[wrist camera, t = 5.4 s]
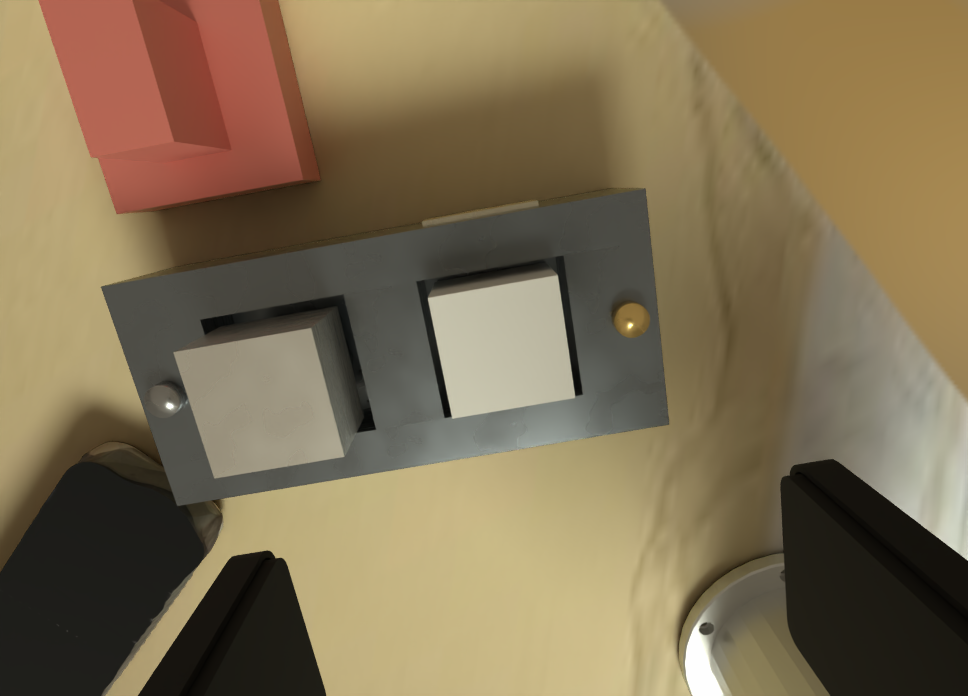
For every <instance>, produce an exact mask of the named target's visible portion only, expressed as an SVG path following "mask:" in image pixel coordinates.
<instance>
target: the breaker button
mask: <svg viewBox="0 0 968 696" xmlns="http://www.w3.org/2000/svg"><path fill="white" fill-rule="evenodd" d="M428 302H429V307H430V311H431V316H432V321H433V326H434V331H435V336H436V341H437V346H438V351H439V356H440V361H441V366H442V370H443V375H444V380H445V385H446V390H447V395H448V400H449V405H450V410H451V415H452V419H454V418H460V417H466V416H472V415H478V414H484V413H489V412H495V411H501V410H507V409H513V408H519V407H525V406H531V405H537V404H543V403H549V402H555V401H561V400H567V399H573V398H575V392H574V385H573V378H572V371H571V364H570V357H569V350H568V343H567V336H566V329H565V322H564V315H563V308H562V301H561V294H560V287H559V280H558V275H557V274H556V273H555V272H554V270H553V269H552V268H551V267H550V266H549V265H548V264H547V263H546V262H544V263H538V264H533V265H527V266H521V267H516V268H510V269H505V270H499V271H493V272H488V273H482V274H476V275H471V276H465V277H459V278H454V279H448V280H442V281H437V282H435V283H434V285H433V287H432V290H431V292H430V294H429V296H428Z"/></svg>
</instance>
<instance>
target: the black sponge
mask: <svg viewBox="0 0 968 696" xmlns="http://www.w3.org/2000/svg"><path fill="white" fill-rule="evenodd" d="M222 527H223V515H222V513H221V511H220V509H219V508H218V507H217V505H216V504H215V503H214V502H212V501H205V502H199V503H193V504H187V505H181V506H177V504H176V501H175V498H174V495H173V492H172V489H171V486H170V484H169V481H168V478H167V475H166V472H165V469H164V467H163V466H161V465H160V464H158V463H157V462H155V461H154V460H152V459H151V458H150V457H148V456H147V455H145V454H144V453H142V452H141V451H139V450H138V449H136V448H135V447H133V446H130V445H128V444H125V443H120V442H107V443H104V444H101V445H99V446H98V447H96V448H94V449H93V450H91V451H89V452H88V453H86V454H85V455H84V456H83V457H82V458H81V460H80V461H79V463H78V464H76V465H74V466H72V467H70V468H69V469H68V470H67V471H66V473H65V474H64V475H63V477H62V478H61V480H60V481H59V483H58V484H57V486H56V487H55V489H54V490H53V492H52V493H51V495H50V496H49V498H48V499H47V501H46V502H45V503H44V505H43V506H42V508H41V509H40V512H39V513H38V515H37V516H36V518H35V519H34V521H33V522H32V524H31V525H30V527H29V528H28V530H27V531H26V533H25V535H24V536H23V538H22V539H21V541H20V543H19V544H18V546H17V547H16V549H15V550H14V552H13V553H12V555H11V557H10V558H9V560H8V561H7V563H6V565H5V566H4V568H3V569H2V571H1V572H0V696H105V695H106V694H107V693H108V691H109V690H110V688H111V687H112V685H113V683H114V682H115V681H116V680H117V679H118V678H119V676H120V675H121V674H122V672H123V670H124V669H125V668H126V667H127V666H128V664H129V662H130V661H131V660H132V659H133V658H134V655H135V654H136V653H137V652H138V651H139V649H140V647H141V646H142V645H143V644H144V643H145V641H146V639H147V638H148V637H149V635H150V634H151V631H152V630H153V629H154V628H155V627H156V625H157V623H158V622H159V621H160V620H161V618H162V616H163V615H164V614H165V613H166V612H167V611H168V609H169V607H170V606H171V605H172V603H173V602H174V600H175V598H176V597H177V596H178V595H179V594H180V592H181V590H182V589H183V588H184V587H185V585H186V584H187V581H188V580H190V578H191V577H192V576H193V572H194V571H195V569H196V568H197V567H198V565H199V564H200V563H201V562H202V560H203V559H204V558H205V557H206V556H207V554H208V553H209V552H210V551H211V549H212V547H213V546H214V544H215V542H216V540H217V538H218V536H219V534H220V532H221V530H222Z"/></svg>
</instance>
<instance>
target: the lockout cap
mask: <svg viewBox="0 0 968 696" xmlns="http://www.w3.org/2000/svg"><path fill="white" fill-rule="evenodd" d="M39 3H40V6H41V9H42V12H43V15H44V18H45V21H46V24H47V27H48V30H49V33H50V36H51V39H52V42H53V45H54V48H55V51H56V54H57V57H58V60H59V63H60V66H61V69H62V72H63V75H64V78H65V81H66V84H67V87H68V90H69V93H70V96H71V99H72V102H73V105H74V108H75V111H76V114H77V117H78V120H79V123H80V126H81V129H82V132H83V135H84V138H85V141H86V144H87V147H88V150H89V153H90V156H91V157H94V158H98V159H99V162H100V165H101V168H102V171H103V174H104V177H105V180H106V183H107V186H108V189H109V192H110V195H111V198H112V201H113V204H114V207H115V210H116V213H117V214H123V213H137V212H150V211H157V210H162V209H168V208H173V207H179V206H184V205H190V204H195V203H200V202H206V201H211V200H217V199H222V198H228V197H233V196H238V195H244V194H249V193H255V192H260V191H266V190H271V189H276V188H282V187H287V186H293V185H298V184H303V183H309V182H314V181H320V180H321V178H320V174H319V170H318V166H317V162H316V158H315V153H314V149H313V145H312V141H311V137H310V132H309V128H308V124H307V120H306V116H305V111H304V107H303V103H302V99H301V95H300V91H299V86H298V82H297V78H296V74H295V70H294V65H293V61H292V57H291V53H290V49H289V44H288V40H287V36H286V32H285V28H284V24H283V19H282V15H281V11H280V7H279V3H278V0H39Z"/></svg>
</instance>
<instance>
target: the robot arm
mask: <svg viewBox="0 0 968 696" xmlns="http://www.w3.org/2000/svg"><path fill="white" fill-rule="evenodd" d="M781 507H782V528H783V548H784V553H781V554H773V555H770V556H766V557H763V558H759V559H755V560H752V561H750V562H748V563H746V564H744V565H742V566H739V567H737V568H735V569H733V570H732V571H730V572H729V573H727V574H726V575H724V576H723V577H721V578H720V579H718V580H717V581H716V582H715V583H714V584H713V585H712V586H711V587H710V588H708V589H707V590H706V591H705V592H704V593H703V594H702V595H701V597H700V598H699V600H698V601H697V602H696V604H695V605H694V606H693V608H692V609H691V611H690V613H689V615H688V617H687V619H686V621H685V623H684V626H683V629H682V633H681V637H680V642H679V662H680V666H681V671H682V675H683V678H684V680H685V682H686V684H687V687H688V689H689V692H690V694H691V696H968V561H967V560H966V559H965V558H963V557H962V556H961V555H959V554H958V553H957V552H956V551H954V550H953V549H952V548H950V547H949V546H948V545H946V544H945V543H944V542H942V541H941V540H940V539H939V538H937V537H936V536H935V535H933V534H932V533H931V532H929V531H928V530H927V529H925V528H924V527H923V526H921V525H920V524H919V523H918V522H916V521H915V520H914V519H912V518H911V517H910V516H908V515H907V514H906V513H904V512H903V511H902V510H901V509H899V508H898V507H897V506H895V505H894V504H893V503H891V502H890V501H889V500H887V499H886V498H885V497H883V496H882V495H881V494H880V493H878V492H877V491H876V490H874V489H873V488H872V487H870V486H869V485H868V484H866V483H865V482H864V481H863V480H861V479H860V478H859V477H857V476H856V475H855V474H853V473H852V472H851V471H849V470H848V469H847V468H845V467H844V466H843V465H842V464H840V463H839V462H837V461H835V460H834V459H829V460H823V461H816V462H810V463H804V464H798V465H794V466H793V467H792V468H791V471H790V476H784V477H783V478H782V480H781ZM138 696H326V692H325V688H324V685H323V682H322V678H321V675H320V672H319V669H318V665H317V662H316V659H315V655H314V652H313V649H312V645H311V642H310V639H309V636H308V632H307V629H306V626H305V622H304V619H303V616H302V612H301V609H300V606H299V603H298V599H297V596H296V593H295V589H294V586H293V583H292V579H291V576H290V573H289V570H288V566H287V564H286V562H285V560H284V559H283V558H275V556H274V555H273V553H272V552H270V551H262V552H255V553H249V554H243V555H237V556H233V557H231V558H230V559H229V560H228V562H227V563H226V565H225V566H224V568H223V569H222V571H221V572H220V574H219V575H218V577H217V578H216V580H215V581H214V583H213V584H212V586H211V587H210V589H209V590H208V592H207V593H206V595H205V596H204V598H203V599H202V601H201V602H200V604H199V605H198V607H197V608H196V610H195V611H194V613H193V614H192V616H191V617H190V619H189V620H188V622H187V623H186V625H185V626H184V628H183V629H182V630H181V632H180V633H179V635H178V636H177V638H176V639H175V641H174V642H173V644H172V645H171V647H170V648H169V650H168V651H167V653H166V654H165V656H164V657H163V659H162V660H161V662H160V663H159V665H158V666H157V668H156V669H155V671H154V672H153V674H152V675H151V677H150V678H149V680H148V681H147V683H146V684H145V686H144V687H143V689H142V690H141V692H140V693H139V695H138Z"/></svg>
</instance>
